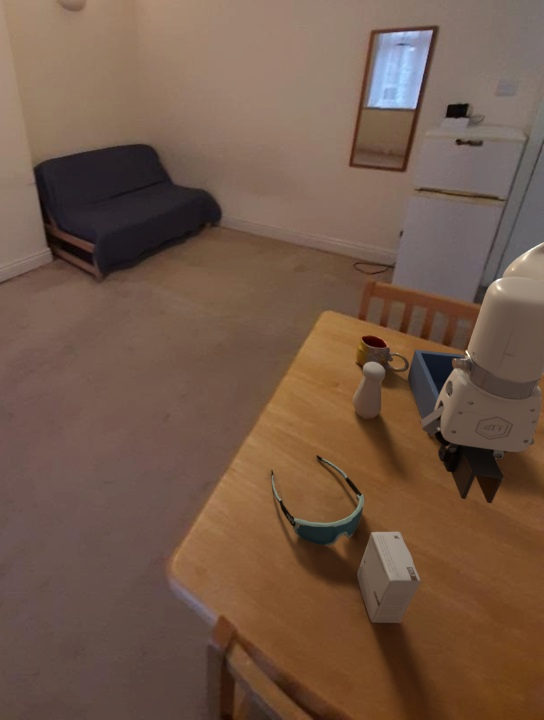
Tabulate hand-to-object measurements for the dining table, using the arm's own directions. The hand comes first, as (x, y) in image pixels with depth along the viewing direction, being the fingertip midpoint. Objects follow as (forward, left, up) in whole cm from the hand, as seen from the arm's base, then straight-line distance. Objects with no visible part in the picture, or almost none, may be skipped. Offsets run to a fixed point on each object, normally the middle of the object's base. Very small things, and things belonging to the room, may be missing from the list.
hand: (462, 464), depth 59 cm
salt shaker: (+7, -24, -18) cm, 31 cm away
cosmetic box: (+11, +11, -18) cm, 24 cm away
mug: (+1, -39, -18) cm, 43 cm away
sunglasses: (+19, -2, -18) cm, 26 cm away
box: (-11, -28, -18) cm, 35 cm away
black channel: (0, 0, 0) cm, 0 cm away
